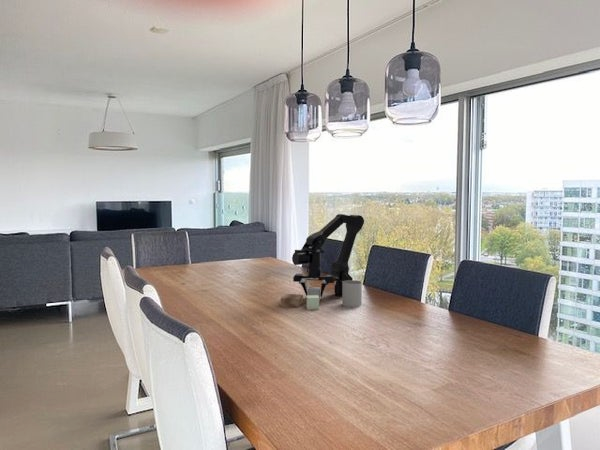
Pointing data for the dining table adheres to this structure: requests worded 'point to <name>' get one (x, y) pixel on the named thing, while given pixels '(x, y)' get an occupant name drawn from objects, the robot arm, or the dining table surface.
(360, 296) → the cup
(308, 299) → the sage cube
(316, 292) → the grey cube
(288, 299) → the walnut base
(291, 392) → the dining table surface
